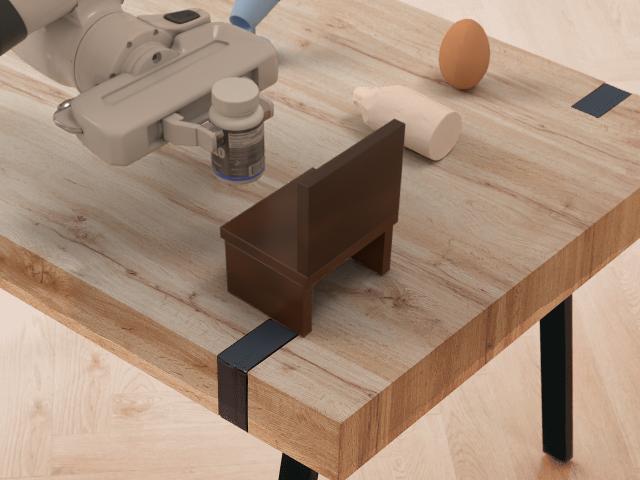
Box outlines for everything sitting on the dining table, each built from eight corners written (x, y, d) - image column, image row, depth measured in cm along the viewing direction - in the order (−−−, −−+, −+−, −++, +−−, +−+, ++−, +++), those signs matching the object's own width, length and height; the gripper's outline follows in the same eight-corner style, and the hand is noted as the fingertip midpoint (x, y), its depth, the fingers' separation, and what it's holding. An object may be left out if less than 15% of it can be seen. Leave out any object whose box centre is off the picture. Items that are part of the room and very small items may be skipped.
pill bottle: (206, 160, 97) (200, 78, 91) (256, 151, 98) (254, 70, 92) (219, 190, 93) (214, 107, 88) (271, 181, 95) (270, 99, 89)
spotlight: (251, 38, 130) (221, 62, 125) (249, -41, 123) (217, -18, 118) (287, 48, 128) (258, 73, 124) (287, -32, 122) (255, -8, 117)
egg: (494, 83, 124) (503, 17, 119) (472, 105, 121) (480, 38, 115) (450, 69, 126) (457, 3, 121) (427, 90, 123) (432, 23, 117)
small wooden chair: (223, 288, 96) (213, 137, 85) (312, 227, 103) (313, 80, 92) (307, 340, 91) (308, 187, 81) (394, 272, 98) (405, 123, 88)
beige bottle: (372, 104, 120) (375, 60, 116) (460, 146, 114) (465, 100, 111) (337, 126, 116) (339, 80, 112) (426, 170, 111) (430, 123, 107)
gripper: (35, 82, 90) (149, 146, 84) (211, 0, 102) (321, 51, 96) (47, 146, 94) (156, 211, 88) (214, 60, 106) (320, 111, 100)
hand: (244, 126), depth 92 cm, fingers closed on pill bottle, 5 cm apart
